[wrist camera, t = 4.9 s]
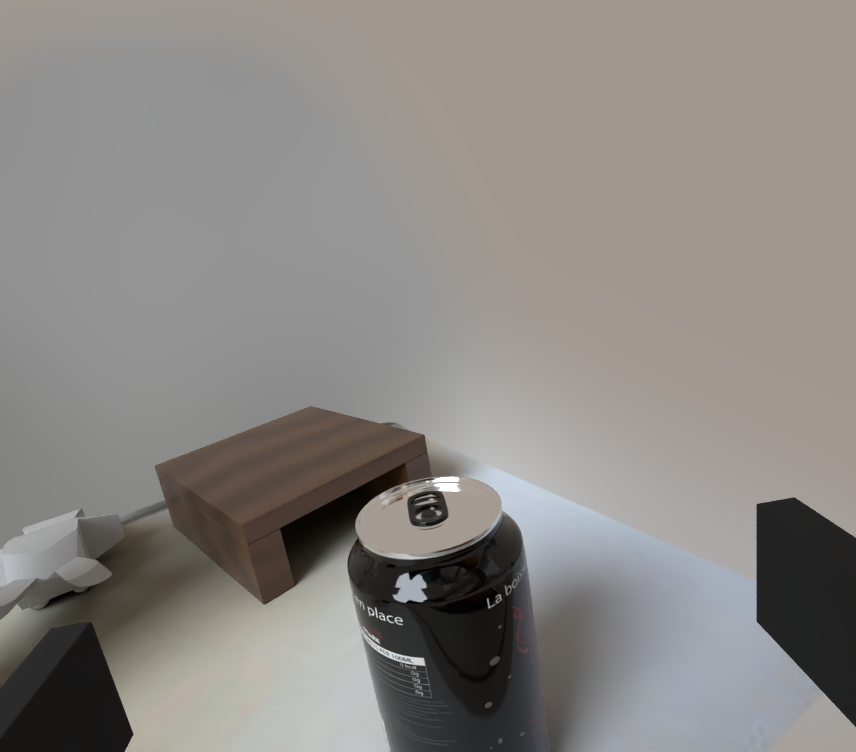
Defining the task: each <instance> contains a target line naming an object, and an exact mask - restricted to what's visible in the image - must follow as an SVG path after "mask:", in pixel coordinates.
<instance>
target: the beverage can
mask: <svg viewBox="0 0 856 752" xmlns="http://www.w3.org/2000/svg"><path fill="white" fill-rule="evenodd" d="M355 527H356V533H357V537H358V539H357V540H356V542H355V543H354V545H353V547H352V549H351V551H350V554H349V557H348V574H349V581H350V587H351V592H352V596H353V600H354V605H355V609H356V613H357V617H358V622H359V626H360V630H361V635H362V639H363V643H364V648H365V652H366V656H367V661H368V665H369V669H370V674H371V678H372V682H373V686H374V691H375V695H376V699H377V704H378V708H379V712H380V717H381V721H382V725H383V729H384V733H385V737H386V741H387V745H388V749H389V752H548V750H549V736H548V725H547V716H546V707H545V698H544V690H543V682H542V675H541V667H540V659H539V652H538V644H537V636H536V629H535V621H534V613H533V606H532V598H531V590H530V582H529V575H528V567H527V559H526V552H525V547H524V542H523V537H522V534H521V531H520V529H519V527H518V525H517V524H516V522H515V521H514V520H513V519H512V518H511V517H510V516H509V515H508V514H506V513H505V512H504V511H502V503H501V499H500V496H499V495H498V493H497V492H496V491H495V490H494V489H493V488H492V487H490V486H489V485H487V484H485V483H483V482H480V481H478V480H474V479H470V478H464V477H454V476H443V477H431V478H425V479H419V480H415V481H411V482H407V483H404V484H401V485H398V486H396V487H394V488H391V489H389V490H387V491H385V492H383V493H381V494H380V495H378V496H376V497H375V498H374V499H372V500H371V501H370V502H369V503H368V504H366V505H365V506H364V508H363V509H362V510H361V511H360V513H359V515H358V517H357V519H356V524H355Z"/></svg>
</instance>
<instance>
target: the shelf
mask: <svg viewBox="0 0 856 752" xmlns="http://www.w3.org/2000/svg"><path fill="white" fill-rule="evenodd" d="M155 469H156V472H157V475H158V478H159V481H160V485H161V487H162V491H163V494H164V497H165V500H166V504H167V507H168V510H169V513H170V516H171V519H172V522H173V526H174V527H176V528H177V529H178V530H179V531H180V532H181V533H182V534H184V535H185V536H186V537H187V538H188V539H189V540H191V541H192V542H193V543H194V544H195V545H196V546H197V547H199V548H200V549H201V550H202V551H203V552H204V553H205V554H207V555H208V556H209V557H210V558H211V559H212V560H213V561H215V562H216V563H217V564H218V565H219V566H220V567H222V568H223V569H224V570H225V571H226V572H227V573H228V574H230V575H231V576H232V577H233V578H234V579H235V580H236V581H238V582H239V583H240V584H241V585H242V586H243V587H244V588H246V589H247V590H248V591H249V592H250V593H251V594H253V595H254V596H255V597H256V598H257V599H258V600H259V601H261V602H262V603H263V604H265V603H267V602H269V601H270V600H272V599H273V598H275V597H277V596H278V595H280V594H282V593H283V592H285V591H287V590H288V589H290V588H292V587H293V586H295V584H294V580H293V576H292V573H291V569H290V565H289V561H288V557H287V553H286V550H285V546H284V542H283V538H282V534H281V531H280V528H281V527H283V526H285V525H287V524H289V523H291V522H292V521H294V520H296V519H298V518H300V517H302V516H304V515H306V514H308V513H310V512H312V511H314V510H315V509H317V508H319V507H321V506H323V505H325V504H327V503H329V502H331V501H333V500H335V499H337V498H338V497H340V496H342V495H344V494H346V493H348V492H350V491H352V490H354V489H356V488H358V489H360V490H362V491H365V492H367V493H370V494H372V495H374V496H378V495H380V494H381V493H383V492H385V491H387V490H389V489H391V488H394V487H396V486H398V485H401V484H404V483H407V482H411V481H415V480H419V479H425V478H431V477H432V476H431V470H430V464H429V459H428V453H427V447H426V441H425V436H424V435H423V434H419V433H415V432H411V431H407V430H403V429H399V428H395V427H391V426H387V425H383V424H379V423H375V422H372V421H367V420H363V419H360V418H356V417H352V416H347V415H343V414H339V413H336V412H332V411H328V410H324V409H320V408H316V407H312V406H310V407H308V408H305V409H302V410H300V411H297V412H294V413H292V414H289V415H287V416H284V417H281V418H279V419H276V420H273V421H271V422H268V423H266V424H263V425H261V426H258V427H255V428H253V429H250V430H247V431H245V432H242V433H239V434H237V435H234V436H232V437H229V438H227V439H224V440H221V441H219V442H216V443H214V444H211V445H208V446H206V447H203V448H200V449H198V450H195V451H192V452H190V453H187V454H185V455H182V456H179V457H177V458H174V459H172V460H169V461H166V462H164V463H161V464H158V465H156V466H155Z"/></svg>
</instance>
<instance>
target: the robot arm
mask: <svg viewBox="0 0 856 752" xmlns="http://www.w3.org/2000/svg"><path fill="white" fill-rule="evenodd" d="M757 622H758V623H759V624H760V625H761V626H762V627H763V629H764V630H765V631H766V632H767V633H768V634H769V635H770V636H771V637H772V638H773V639H774V640H775V641H776V642H777V643H778V644H779V646H780V647H781V648H782V649H783V650H784V651H785V652H786V653H787V654H788V655H789V656H790V657H791V658H792V659H793V660H794V662H795V663H796V664H797V665H798V666H799V667H800V668H801V669H802V670H803V671H804V672H805V673H806V674H807V675H808V676H809V678H810V679H811V680H812V681H813V682H814V683H815V684H816V685H817V686H818V687H819V688H820V689H821V690H822V691H823V692H824V694H825V695H826V696H827V697H828V698H829V699H830V700H831V701H832V702H833V703H834V704H835V705H836V706H837V707H838V708H839V709H840V711H841V712H842V713H843V714H844V715H845V716H846V717H847V718H848V719H849V720H850V721H851V722H852V723H853V724H854V725H855V727H856V538H855V537H854V536H852V535H851V534H849V533H847V532H846V531H844V530H843V529H841V528H840V527H838V526H837V525H835V524H834V523H832V522H831V521H829V520H828V519H826V518H825V517H823V516H822V515H820V514H819V513H817V512H816V511H814V510H813V509H811V508H810V507H808V506H807V505H805V504H803V503H802V502H801V501H799V500H797V499H796V498H788V499H783V500H777V501H772V502H766V503H760V504H757ZM132 736H133V732H132V729H131V726H130V724H129V721H128V718H127V716H126V713H125V710H124V708H123V705H122V702H121V700H120V697H119V694H118V692H117V689H116V686H115V684H114V681H113V678H112V676H111V673H110V670H109V668H108V665H107V662H106V660H105V657H104V654H103V651H102V649H101V646H100V643H99V641H98V638H97V635H96V633H95V630H94V627H93V625H92V622H85V623H79V624H74V625H68V626H62V627H57V628H51V629H50V631H49V632H48V633H47V634H46V635H45V636H44V638H43V639H42V640H41V641H40V642H39V643H38V645H37V646H36V647H35V648H34V649H33V650H32V652H31V653H30V654H29V655H28V656H27V657H26V659H25V660H24V661H23V662H22V663H21V664H20V666H19V667H18V668H17V669H16V670H15V671H14V673H13V674H12V675H11V676H10V677H9V678H8V680H7V681H6V682H5V683H4V684H3V685H2V687H1V688H0V752H125V750H126V748H127V746H128V744H129V742H130V740H131V738H132Z"/></svg>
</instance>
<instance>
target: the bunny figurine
mask: <svg viewBox="0 0 856 752" xmlns="http://www.w3.org/2000/svg"><path fill="white" fill-rule="evenodd" d="M23 531H24V534H25V535H22V536H19V537H16V538H13V539H11V540H10V541H8V542H7V543H6V545H5V546H4V547H3V549H1V550H0V586H4V587H3V588H1V589H0V620H1V619H2V618H3V617H4V616H5V615H7V614H8V613H9V612H10V611H11V610H12V609H13V608H14V606H15V605H16V604H18V605H19V607H20V608H21V609H22V610H23V609H25V608H28V607H31V608H34V609H40V608H43V607H44V606H46V605H47V603H48V602H49V600H50V599H51V598H54V597H56V596H59V595H61V594H64V593H66V592H69V591H72V590H74V591H75V592H84V591H85V590H86V589H88V588H89V586H92V585H95V584H98V583H100V582H103V581H105V580H107V579H108V578H109V577H110V576H111V575H112V573H111V571H109V570H108V569H107V568H106V567H104V566H103V565H102V564H101V563H100V562H98V561H97V560H95V559H96V558H98V557H99V556H100V555H102V554H103V553H104V552H106V551H107V550H109V549H110V548H111V547H113V546H114V545H115V544H117V543H118V542H120V541H121V540H122V539H124V538H125V537H126V536H125V534H124V531H123V528H122V525H121V522H120V519H119V516H118V513H113V514H106V515H99V516H92V517H85V515H84V513H83V510H82V509H79V510H76V511H73V512H70V513H67V514H64V515H61V516H58V517H55V518H52V519H49V520H46V521H43V522H40V523H37V524H34V525H31V526H28V527H25V528H23ZM5 585H6V586H5Z"/></svg>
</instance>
